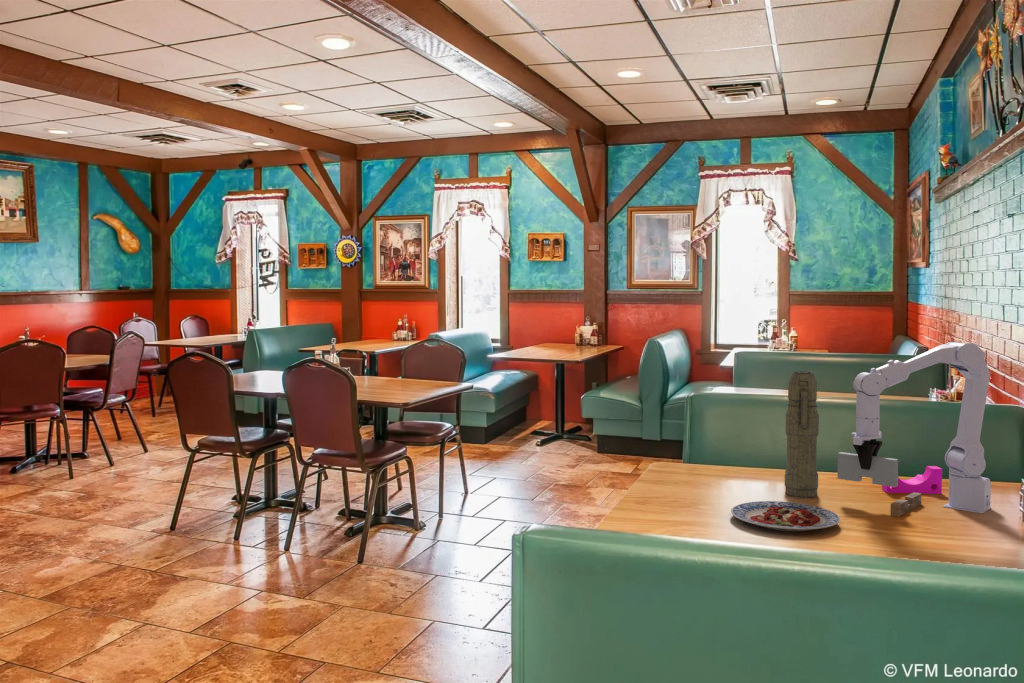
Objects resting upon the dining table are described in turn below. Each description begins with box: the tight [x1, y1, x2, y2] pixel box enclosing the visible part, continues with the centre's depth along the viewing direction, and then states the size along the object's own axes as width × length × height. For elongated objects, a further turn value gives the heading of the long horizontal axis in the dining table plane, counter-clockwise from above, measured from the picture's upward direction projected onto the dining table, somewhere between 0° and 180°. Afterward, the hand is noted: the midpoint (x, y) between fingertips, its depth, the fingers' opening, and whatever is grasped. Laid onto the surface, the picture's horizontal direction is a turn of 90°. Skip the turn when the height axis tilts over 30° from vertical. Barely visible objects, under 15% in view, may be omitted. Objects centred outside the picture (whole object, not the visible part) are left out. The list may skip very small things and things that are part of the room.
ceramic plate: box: [730, 500, 841, 532], centre depth 200 cm, size 26×26×3 cm
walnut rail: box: [890, 492, 923, 517], centre depth 211 cm, size 17×2×3 cm, turn 135°
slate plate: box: [837, 451, 899, 487], centre depth 214 cm, size 15×2×7 cm, turn 45°
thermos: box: [784, 371, 820, 499], centre depth 226 cm, size 9×12×35 cm
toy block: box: [881, 465, 943, 495], centre depth 231 cm, size 15×6×8 cm, turn 85°
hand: (867, 468), depth 214 cm, fingers closed on slate plate, 2 cm apart
